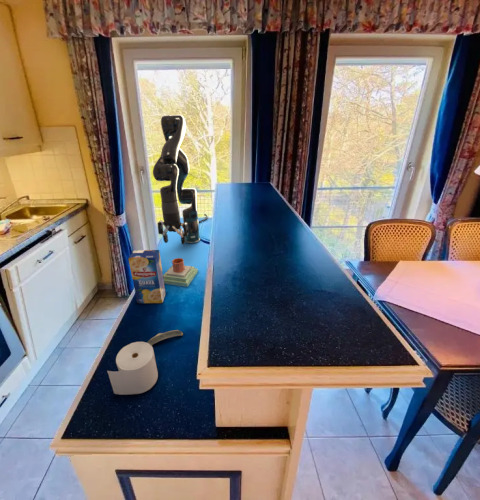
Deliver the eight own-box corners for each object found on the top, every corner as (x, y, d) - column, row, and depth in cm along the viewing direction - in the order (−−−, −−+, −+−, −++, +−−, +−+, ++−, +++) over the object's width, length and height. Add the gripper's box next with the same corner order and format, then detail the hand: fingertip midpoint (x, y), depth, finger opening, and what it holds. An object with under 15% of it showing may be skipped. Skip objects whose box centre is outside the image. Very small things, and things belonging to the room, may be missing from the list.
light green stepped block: (172, 268, 146) (172, 262, 144) (197, 271, 142) (197, 265, 140) (160, 283, 134) (159, 276, 132) (187, 286, 130) (186, 280, 128)
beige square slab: (174, 267, 142) (174, 264, 141) (191, 268, 139) (190, 266, 139) (166, 276, 134) (166, 273, 133) (184, 278, 132) (183, 275, 131)
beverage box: (141, 293, 126) (133, 250, 116) (165, 293, 126) (159, 249, 116) (137, 303, 120) (127, 258, 110) (162, 303, 120) (155, 257, 110)
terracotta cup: (176, 266, 139) (174, 257, 137) (186, 267, 138) (185, 258, 135) (171, 271, 134) (170, 262, 132) (181, 273, 133) (180, 264, 131)
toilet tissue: (163, 368, 89) (159, 344, 84) (145, 402, 78) (139, 377, 74) (134, 362, 91) (128, 339, 87) (112, 394, 81) (104, 370, 77)
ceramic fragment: (145, 349, 96) (143, 341, 94) (142, 339, 100) (141, 331, 99) (184, 337, 101) (183, 329, 99) (180, 328, 105) (179, 320, 103)
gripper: (188, 208, 125) (191, 240, 133) (160, 206, 129) (164, 238, 136) (182, 213, 119) (185, 247, 126) (152, 212, 122) (157, 245, 130)
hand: (174, 242), depth 131 cm, fingers open, 8 cm apart
